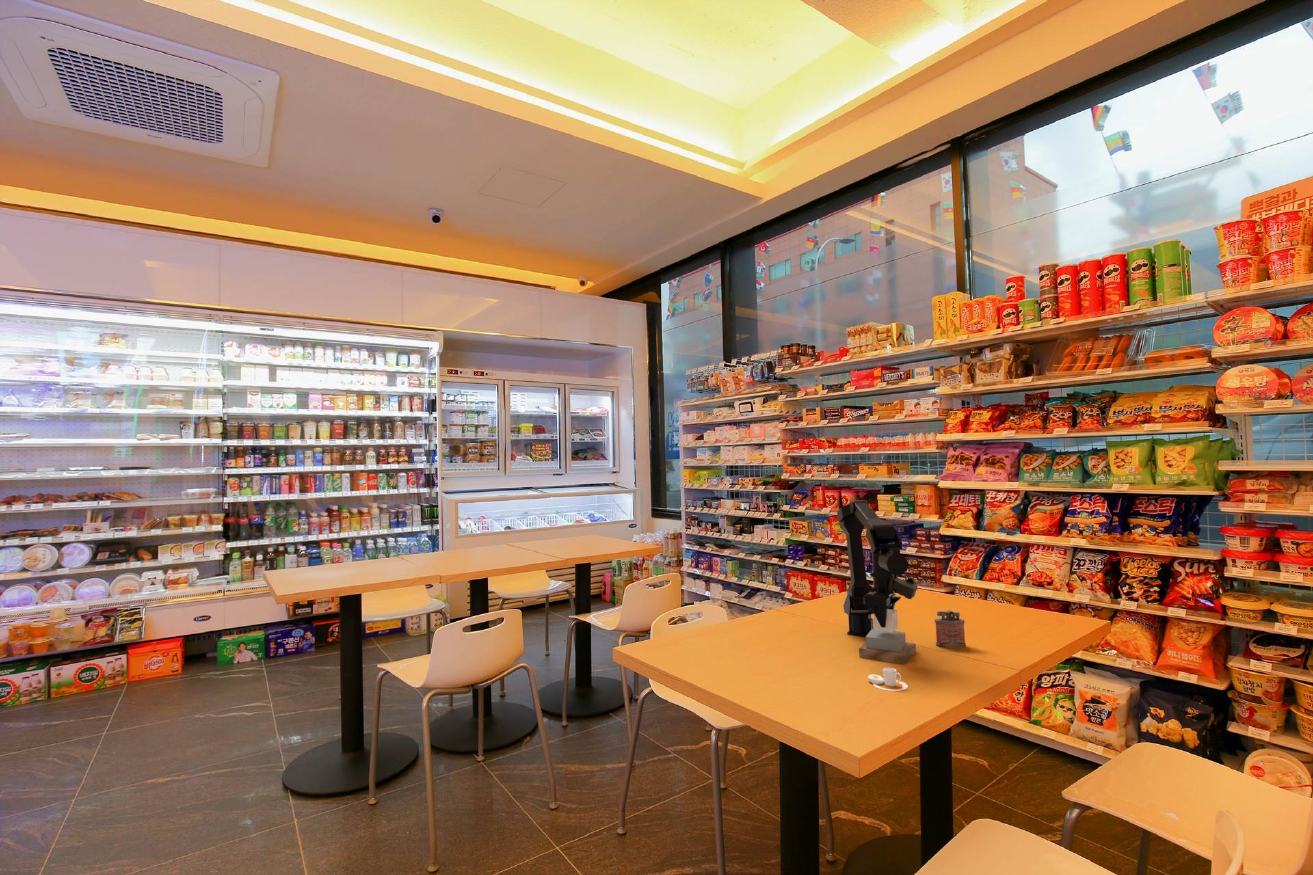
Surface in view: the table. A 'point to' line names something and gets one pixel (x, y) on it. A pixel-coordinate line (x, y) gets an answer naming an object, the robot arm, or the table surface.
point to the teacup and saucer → (887, 679)
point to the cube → (888, 622)
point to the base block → (889, 653)
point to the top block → (886, 640)
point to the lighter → (950, 630)
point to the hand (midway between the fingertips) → (885, 625)
